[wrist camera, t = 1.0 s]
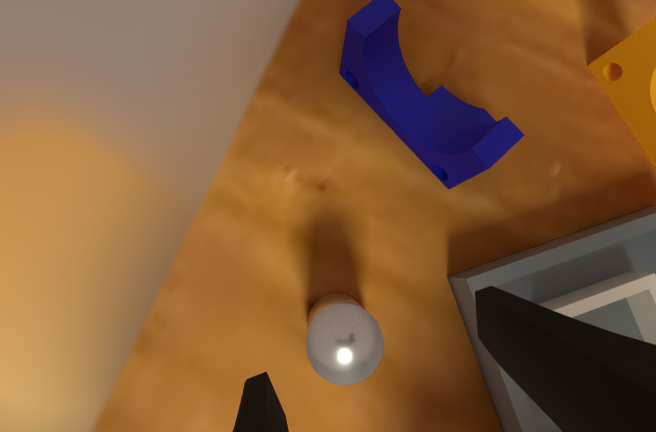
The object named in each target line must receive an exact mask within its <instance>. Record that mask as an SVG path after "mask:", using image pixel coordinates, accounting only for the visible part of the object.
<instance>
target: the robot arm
mask: <svg viewBox="0 0 656 432" xmlns="http://www.w3.org/2000/svg"><path fill="white" fill-rule="evenodd" d="M475 303H476V318H477V332H478V338H479V340H480V341H481V342H482V344H483V345H484V346H485V348H486V349H487V350H488V352H489V353H490V354H491V356H492V357H493V358H494V359H495V361H496V362H497V363H498V364H499V366H500V367H501V368H502V369H503V370H504V371H505V372H506V373H507V374H508V375H509V376H510V377H511V378H512V379H513V380H514V381H515V383H516V384H517V385H518V386H519V387H520V388H521V389H522V390H523V391H524V392H525V393H526V394H527V395H528V396H529V397H530V398H531V399H532V400H533V401H534V402H535V403H536V404H537V405H538V406H539V407H540V409H541V410H542V411H543V412H544V413H545V414H546V415H547V416H548V417H549V418H550V419H551V420H552V421H553V422H554V423H555V424H556V425H557V426H558V427H559V429H560V430H561V431H562V432H656V345H655V344H652V343H648V342H645V341H641V340H638V339H634V338H631V337H627V336H624V335H621V334H618V333H614V332H611V331H608V330H605V329H602V328H600V327H597V326H594V325H591V324H588V323H585V322H582V321H579V320H577V319H574V318H571V317H569V316H566V315H563V314H561V313H558V312H556V311H553V310H550V309H548V308H545V307H543V306H540V305H538V304H536V303H533V302H531V301H528V300H526V299H523V298H521V297H518V296H516V295H514V294H511V293H509V292H506V291H504V290H501V289H499V288H496V287H493V286H488V287H486V288H483V289H480V290H478V291H475ZM233 432H289V431H288V426H287V421H286V416H285V413H284V411H283V409H282V406H281V404H280V402H279V399H278V397H277V395H276V392H275V390H274V388H273V386H272V383H271V381H270V379H269V376H268V374H267V372H264V373H262V374H259V375H257V376H254V377H251V378H249V379H247V380H246V382H245V384H244V389H243V394H242V398H241V403H240V407H239V411H238V415H237V418H236V422H235V426H234V429H233Z"/></svg>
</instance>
